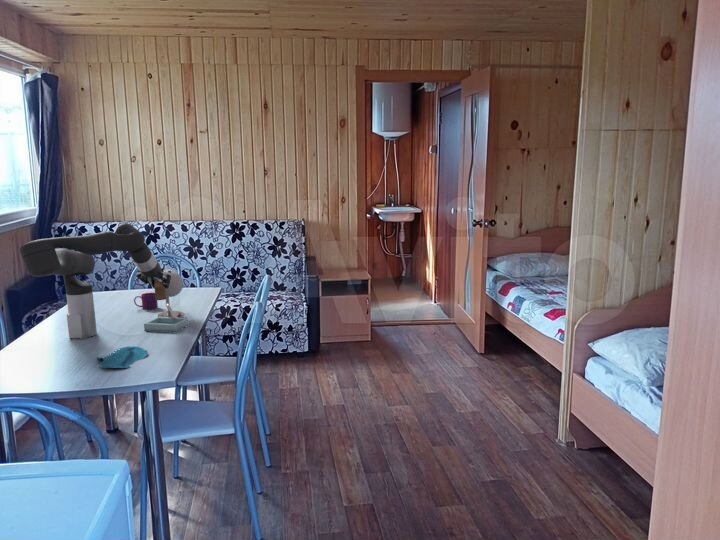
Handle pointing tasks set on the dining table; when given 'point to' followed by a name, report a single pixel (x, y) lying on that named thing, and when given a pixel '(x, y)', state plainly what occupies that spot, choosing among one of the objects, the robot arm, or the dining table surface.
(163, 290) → the dowel
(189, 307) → the dining table surface
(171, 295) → the light fixture
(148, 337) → the dining table surface
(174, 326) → the bin
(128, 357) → the mineral
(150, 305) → the mug
